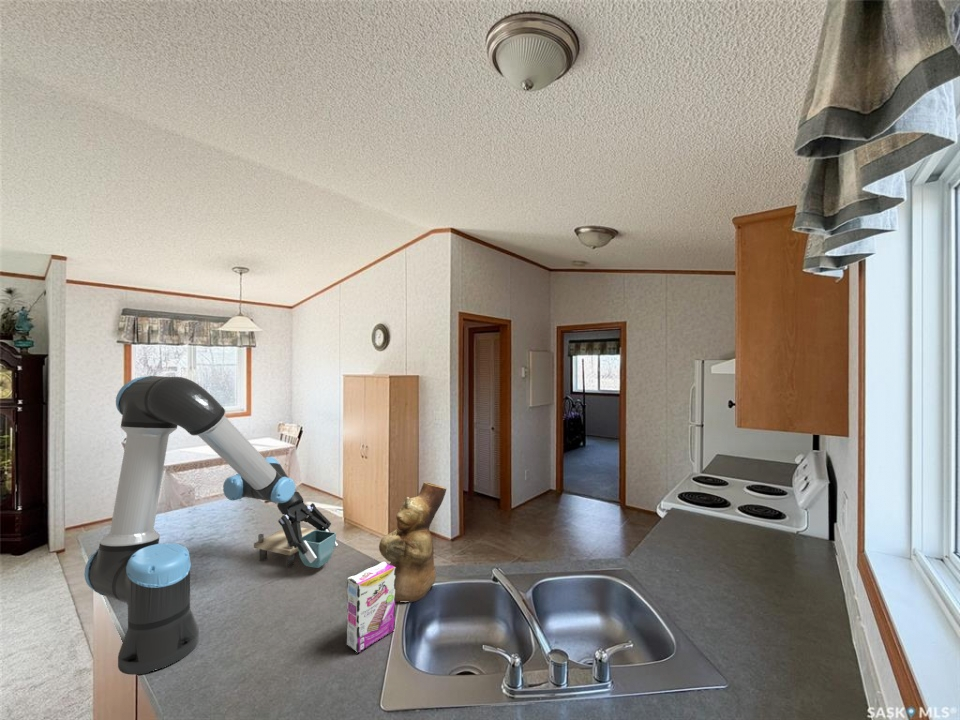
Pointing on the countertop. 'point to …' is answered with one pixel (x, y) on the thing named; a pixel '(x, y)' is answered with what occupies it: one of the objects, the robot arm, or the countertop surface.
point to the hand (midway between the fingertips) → (324, 553)
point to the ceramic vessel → (413, 544)
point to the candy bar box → (370, 605)
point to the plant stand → (278, 545)
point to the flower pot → (319, 547)
